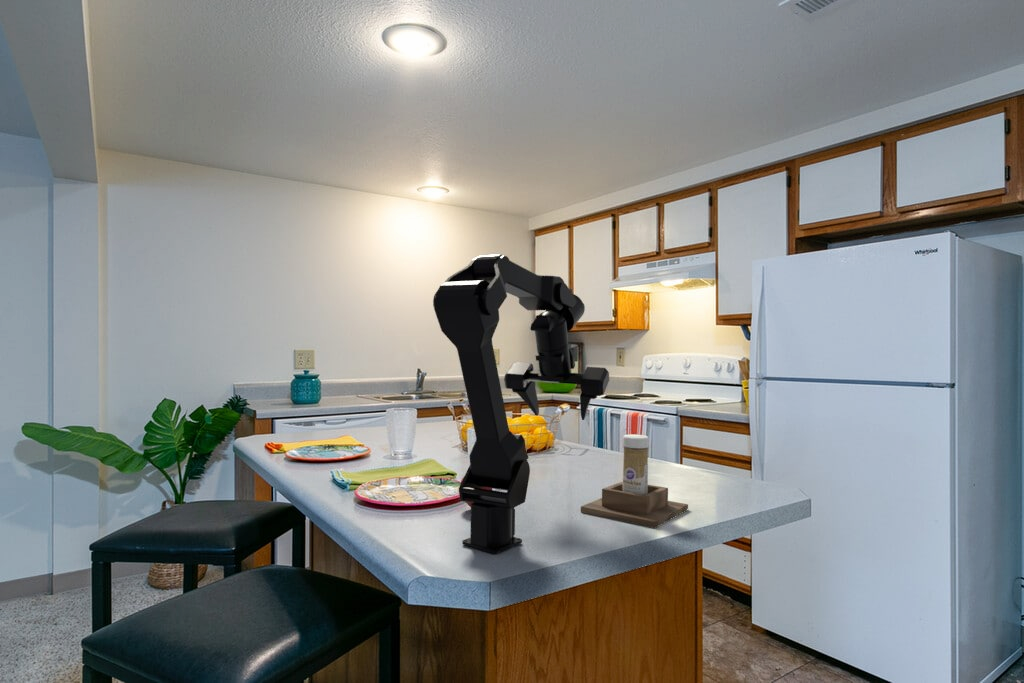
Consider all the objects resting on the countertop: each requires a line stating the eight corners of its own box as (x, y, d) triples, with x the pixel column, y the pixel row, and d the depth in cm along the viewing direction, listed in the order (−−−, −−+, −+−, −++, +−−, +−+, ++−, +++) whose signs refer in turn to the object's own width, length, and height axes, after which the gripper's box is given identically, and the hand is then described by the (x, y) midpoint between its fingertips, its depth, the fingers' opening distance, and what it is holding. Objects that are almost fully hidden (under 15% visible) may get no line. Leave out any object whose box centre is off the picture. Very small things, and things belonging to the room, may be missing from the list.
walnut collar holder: (655, 528, 95) (655, 503, 95) (580, 512, 103) (581, 489, 103) (688, 509, 106) (688, 487, 106) (618, 496, 114) (618, 476, 114)
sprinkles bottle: (619, 512, 103) (620, 436, 104) (625, 506, 108) (626, 433, 108) (645, 516, 102) (646, 438, 102) (650, 509, 106) (651, 434, 106)
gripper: (613, 326, 108) (617, 398, 115) (518, 323, 115) (527, 390, 122) (599, 354, 99) (605, 430, 106) (498, 349, 106) (509, 421, 113)
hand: (560, 416), depth 112 cm, fingers open, 9 cm apart
